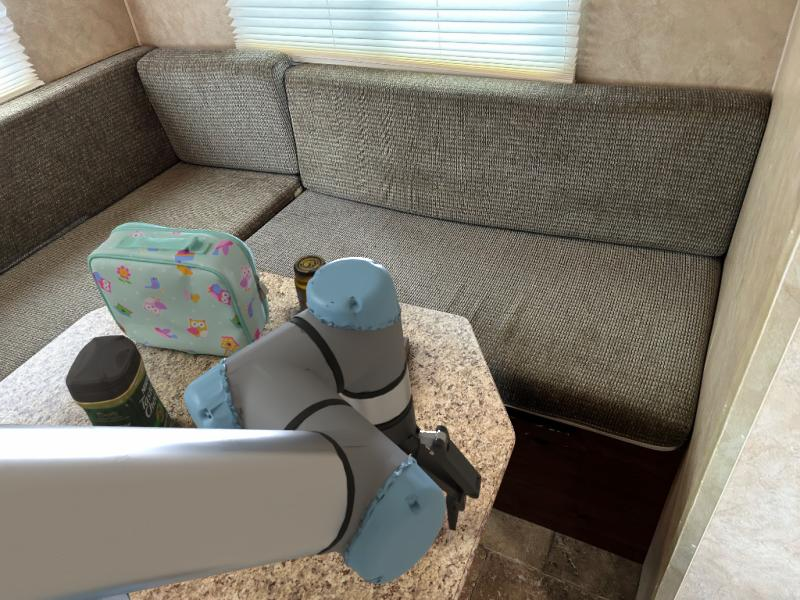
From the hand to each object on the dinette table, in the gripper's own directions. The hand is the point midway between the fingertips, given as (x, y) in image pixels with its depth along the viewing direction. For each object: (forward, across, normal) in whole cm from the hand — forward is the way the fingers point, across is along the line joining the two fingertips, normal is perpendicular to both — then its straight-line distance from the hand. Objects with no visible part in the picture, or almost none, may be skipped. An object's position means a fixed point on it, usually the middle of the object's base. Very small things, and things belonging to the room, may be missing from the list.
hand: (398, 511), depth 74 cm
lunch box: (+1, +41, -27) cm, 49 cm away
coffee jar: (+1, +38, -4) cm, 38 cm away
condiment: (+2, +23, -34) cm, 41 cm away
